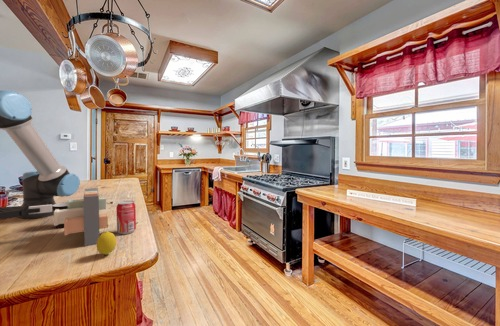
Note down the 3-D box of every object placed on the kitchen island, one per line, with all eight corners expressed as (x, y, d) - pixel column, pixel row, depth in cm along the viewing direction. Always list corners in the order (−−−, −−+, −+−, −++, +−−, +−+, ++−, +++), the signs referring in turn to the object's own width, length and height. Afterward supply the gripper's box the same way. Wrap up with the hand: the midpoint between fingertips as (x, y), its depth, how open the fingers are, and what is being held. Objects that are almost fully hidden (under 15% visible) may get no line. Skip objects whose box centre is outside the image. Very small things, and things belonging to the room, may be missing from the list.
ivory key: (55, 222, 86) (55, 209, 86) (96, 217, 93) (96, 205, 93) (54, 225, 82) (53, 212, 82) (96, 220, 90) (96, 207, 89)
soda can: (139, 230, 99) (139, 201, 98) (125, 236, 92) (125, 204, 91) (127, 228, 101) (126, 199, 100) (112, 233, 94) (112, 203, 93)
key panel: (86, 229, 98) (85, 187, 97) (98, 227, 101) (97, 186, 100) (84, 246, 82) (83, 194, 81) (99, 243, 84) (98, 193, 83)
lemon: (102, 251, 78) (102, 228, 77) (119, 251, 78) (119, 228, 78) (92, 259, 72) (92, 234, 72) (111, 258, 73) (110, 234, 72)
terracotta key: (65, 231, 82) (65, 217, 82) (107, 225, 90) (106, 212, 90) (64, 235, 79) (64, 221, 78) (107, 228, 86) (107, 215, 86)
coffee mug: (63, 229, 97) (62, 207, 97) (47, 228, 99) (46, 205, 99) (87, 221, 109) (87, 201, 108) (73, 220, 111) (72, 200, 110)
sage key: (68, 211, 94) (68, 199, 93) (105, 207, 101) (105, 196, 101) (67, 214, 90) (67, 201, 90) (105, 209, 97) (105, 198, 97)
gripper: (-33, 223, 81) (54, 213, 94) (-51, 234, 70) (49, 221, 84) (-34, 202, 80) (53, 195, 94) (-53, 210, 70) (49, 201, 83)
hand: (51, 208), depth 89 cm, fingers closed
